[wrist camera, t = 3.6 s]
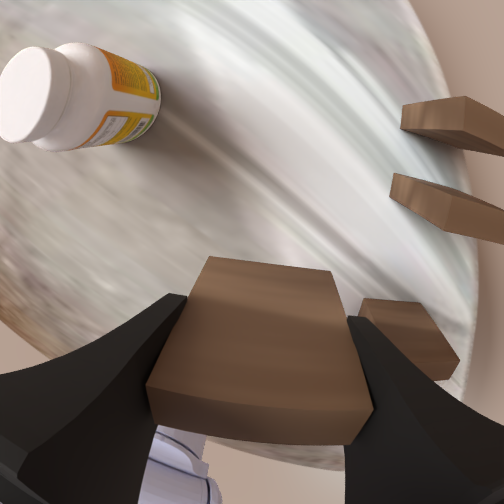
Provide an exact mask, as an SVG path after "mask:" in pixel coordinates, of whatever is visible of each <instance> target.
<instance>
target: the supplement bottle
mask: <svg viewBox="0 0 504 504" xmlns="http://www.w3.org/2000/svg"><path fill="white" fill-rule="evenodd" d="M160 103H161V92H160V87H159V84H158V82H157V79H156V78H155V76H154V75H153V74H152V73H151V72H150V71H149V70H148V69H146V68H144V67H142V66H140V65H138V64H136V63H134V62H131V61H129V60H127V59H124V58H122V57H120V56H117V55H115V54H112V53H110V52H108V51H105V50H102V49H100V48H97V47H95V46H92V45H88V44H84V43H68V44H65V45H62V46H59V47H57V48H56V49H49V48H43V47H37V46H33V47H28V48H26V49H23V50H22V51H20V52H19V53H17V54H16V55H15V56H14V57H13V58H12V59H11V60H10V62H9V63H8V64H7V66H6V67H5V69H4V70H3V72H2V74H1V76H0V136H1V137H2V138H3V139H4V140H5V141H7V142H10V143H20V142H33V143H34V144H35V145H36V146H37V147H39V148H41V149H43V150H46V151H51V152H60V151H68V150H74V149H80V148H87V147H94V146H102V145H110V144H119V143H125V142H129V141H132V140H134V139H136V138H138V137H139V136H141V135H142V134H144V133H145V132H146V131H147V130H148V129H149V128H150V126H151V125H152V124H153V122H154V121H155V119H156V117H157V115H158V112H159V108H160Z"/></svg>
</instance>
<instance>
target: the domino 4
mask: <svg viewBox="0 0 504 504" xmlns="http://www.w3.org/2000/svg"><path fill="white" fill-rule="evenodd" d="M358 316H360V317H366V318H367V319H369V320H370V321H371V322H372V323H373V324H374V325H375V326H376V327H377V328H378V329H379V330H380V331H381V332H382V333H383V334H384V335H385V336H386V337H387V338H388V339H389V340H390V341H391V342H392V343H393V344H394V345H395V346H396V347H397V348H398V349H399V350H400V351H401V352H402V353H403V354H404V355H405V356H406V357H407V358H408V359H409V360H410V361H411V362H412V363H413V364H414V365H415V366H417V367H418V368H419V369H420V370H421V371H422V372H423V373H424V374H425V375H427V376H428V377H429V378H430V379H431V380H432V381H440V380H449V379H450V377H451V375H452V374H453V372H454V370H455V369H456V367H457V365H458V364H459V362H460V359H459V358H458V356H457V355H456V353H455V352H454V350H453V349H452V347H451V346H450V344H449V343H448V341H447V340H446V338H445V337H444V335H443V334H442V332H441V331H440V330H439V328H438V327H437V325H436V324H435V322H434V321H433V320H432V318H431V317H430V316H429V314H428V313H427V311H426V310H425V309H424V307H423V306H422V305H421V303H418V302H404V301H392V300H380V299H368V298H364V299H363V302H362V305H361V308H360V311H359V314H358Z"/></svg>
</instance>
